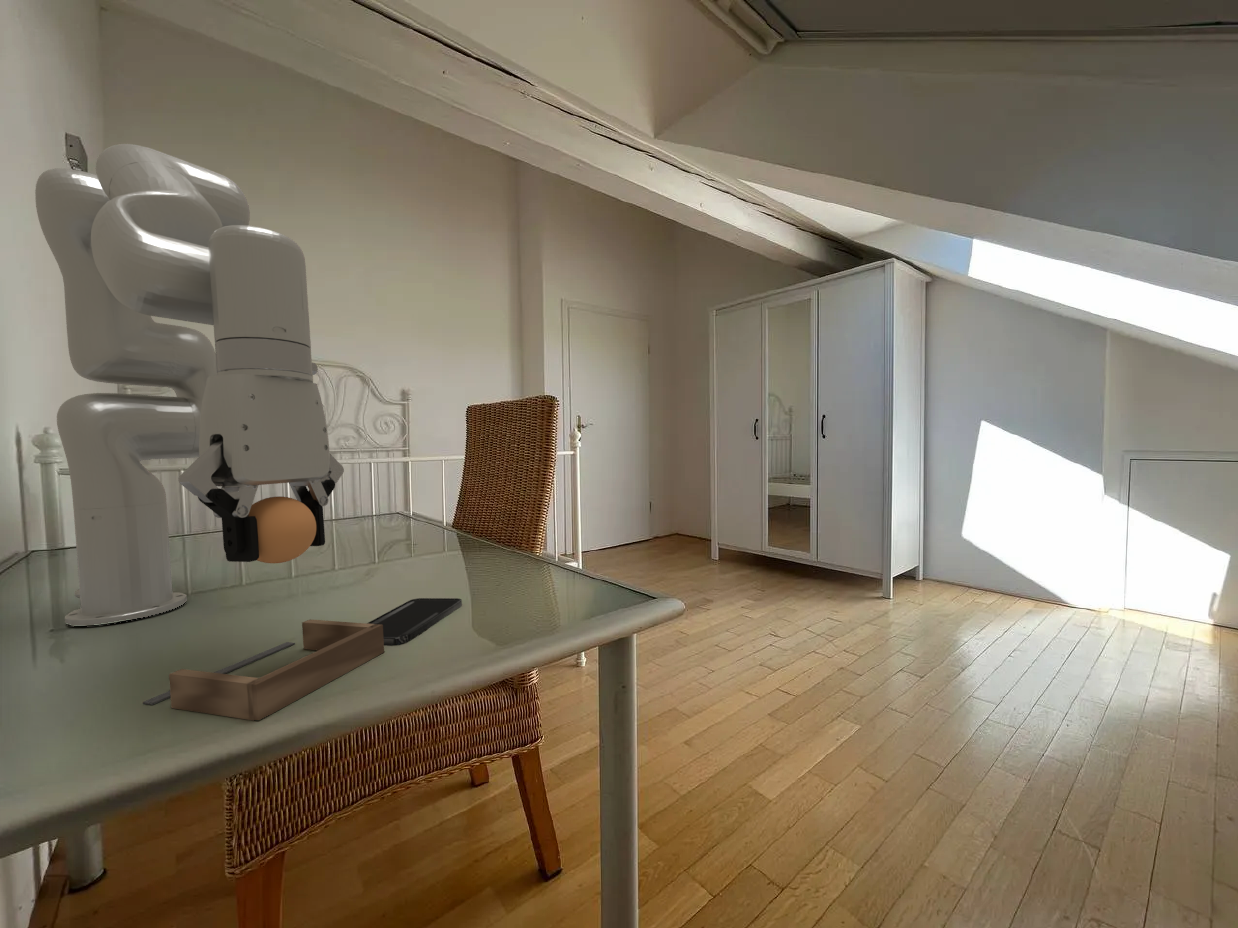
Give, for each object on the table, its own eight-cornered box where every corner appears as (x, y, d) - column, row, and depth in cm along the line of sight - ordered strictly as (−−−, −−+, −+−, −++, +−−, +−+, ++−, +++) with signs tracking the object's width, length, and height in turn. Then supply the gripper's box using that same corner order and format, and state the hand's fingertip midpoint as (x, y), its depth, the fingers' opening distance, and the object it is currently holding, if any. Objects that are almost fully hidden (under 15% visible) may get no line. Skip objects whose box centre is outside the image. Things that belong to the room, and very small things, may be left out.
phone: (339, 637, 57) (413, 597, 72) (340, 647, 57) (414, 605, 72) (403, 639, 56) (465, 598, 71) (403, 649, 56) (465, 606, 71)
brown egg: (221, 569, 46) (216, 500, 46) (284, 555, 53) (280, 494, 52) (274, 571, 45) (269, 499, 44) (333, 555, 51) (329, 492, 51)
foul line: (142, 703, 45) (142, 701, 45) (286, 643, 58) (286, 641, 58) (152, 705, 44) (152, 703, 44) (294, 643, 58) (294, 642, 58)
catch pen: (171, 707, 44) (169, 673, 44) (311, 645, 57) (309, 619, 57) (258, 720, 41) (256, 684, 41) (384, 652, 54) (382, 624, 54)
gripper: (313, 380, 57) (323, 536, 58) (129, 355, 41) (146, 574, 41) (367, 374, 55) (377, 536, 56) (196, 345, 39) (212, 576, 39)
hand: (278, 551), depth 49 cm, fingers closed on brown egg, 6 cm apart
